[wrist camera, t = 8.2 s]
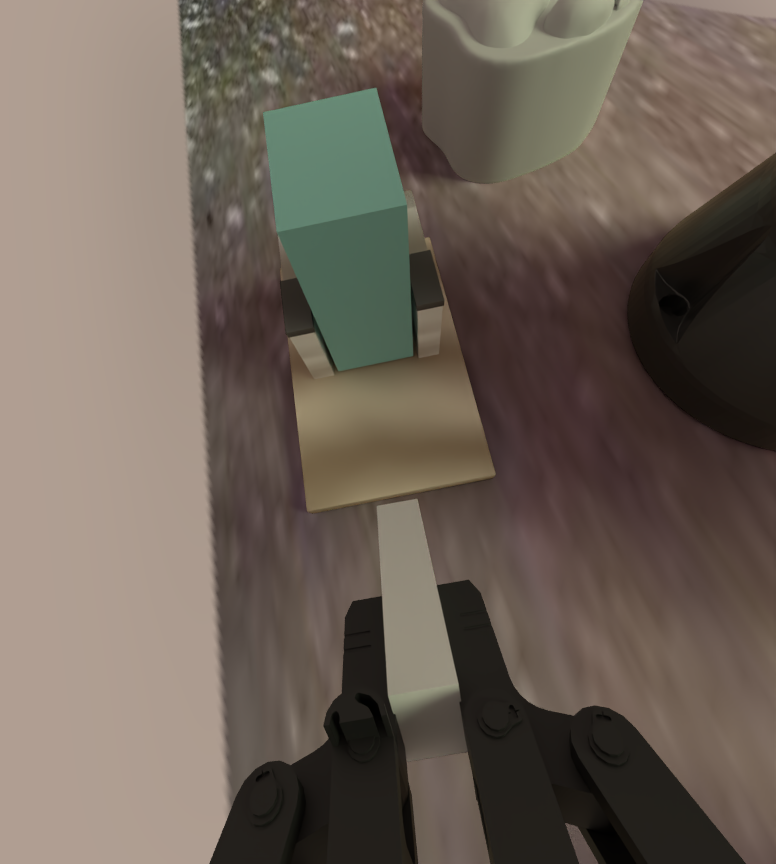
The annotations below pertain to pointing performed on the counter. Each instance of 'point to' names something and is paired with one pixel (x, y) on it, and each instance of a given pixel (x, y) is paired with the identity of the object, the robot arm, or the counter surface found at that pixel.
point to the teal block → (344, 223)
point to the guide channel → (385, 400)
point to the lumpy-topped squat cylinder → (517, 79)
